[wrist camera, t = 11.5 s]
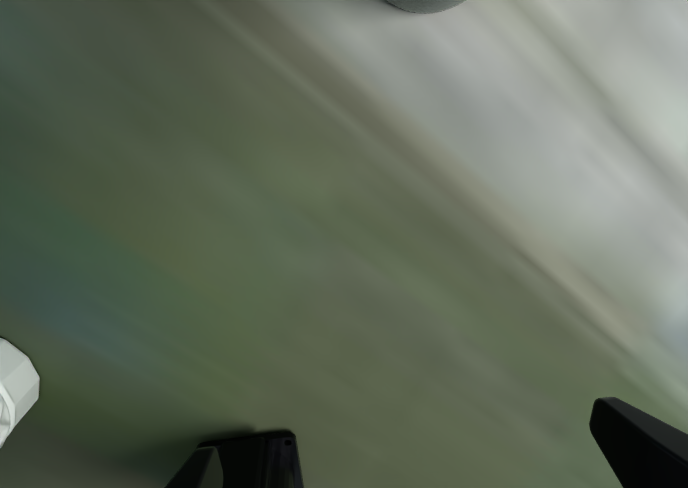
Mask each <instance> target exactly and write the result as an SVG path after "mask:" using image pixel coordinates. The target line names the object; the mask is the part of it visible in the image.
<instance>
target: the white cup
mask: <svg viewBox="0 0 688 488" xmlns="http://www.w3.org/2000/svg"><path fill="white" fill-rule="evenodd" d="M39 382H40V378H39V376H38V374H37V372H36V370H35V368H34V366H33V365H32V363H31V361H30V359H29V358H28V357H27V356H26V355H25V354H24V353H22V352H21V351H20V350H19V349H17V348H16V347H15V346H13V345H12V344H11V343H9V342H8V341H7V340H5V339H3V338H0V449H1V447H2V446H3V443H4V441H5V439H6V438H7V437H8V435H9V434H10V433H11V431H12V430H13V428H14V427H15V426H16V425H17V423H18V422H19V421H20V420H21V419H22V418H23V416H24V415H25V414H26V413H27V412H28V410H29V409H30V408H31V407H32V406H33V405H34V403H35V402H36V401H37V400H38V398H39Z"/></svg>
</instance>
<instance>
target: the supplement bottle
mask: <svg viewBox="0 0 688 488" xmlns="http://www.w3.org/2000/svg"><path fill="white" fill-rule="evenodd" d="M387 1H388V2H389V3H391V4H393V5H394V6H396V7H398V8H401V9H403V10H406V11H410V12H415V13H435V12H441V11H444V10H447V9H450V8H452V7H455V6H457V5H459V4H461V3H462V2H464V1H466V0H387Z"/></svg>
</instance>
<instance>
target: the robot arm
mask: <svg viewBox="0 0 688 488" xmlns="http://www.w3.org/2000/svg"><path fill="white" fill-rule="evenodd" d="M589 426H590V431H591V433H592V435H593V437H594V439H595V441H596V442H597V444H598V446H599V447H600V449H601V451H602V452H603V454H604V456H605V458H606V459H607V461H608V463H609V464H610V466H611V468H612V469H613V471H614V473H615V475H616V476H617V478H618V480H619V481H620V483H621V485H622V486H623V488H688V434H686V433H684V432H682V431H680V430H678V429H676V428H674V427H672V426H671V425H669V424H667V423H665V422H663V421H661V420H659V419H657V418H655V417H653V416H651V415H649V414H647V413H645V412H643V411H641V410H639V409H637V408H636V407H634V406H632V405H630V404H628V403H626V402H624V401H622V400H620V399H618V398H615V397H605V398H598V399H596V400H595V401H594V405H593V409H592V413H591V418H590V423H589ZM288 440H289V441H288ZM165 488H304V485H303V479H302V472H301V466H300V460H299V454H298V447H297V441H296V436H295V434H293V433H291V432H284V433H276V434H268V435H260V436H252V437H243V438H235V439H227V440H219V441H211V442H203V443H200V444H199V445H198V446H197V449H196V450H195V451H194V452H193V453H192V455H191V456H190V457H189V458H188V460H187V461H186V462H185V463H184V464H183V466H182V467H181V468H180V469H179V471H178V472H177V473H176V474H175V475H174V477H173V478H172V479H171V480H170V482H169V483H168V484H167V485H166V487H165Z"/></svg>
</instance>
